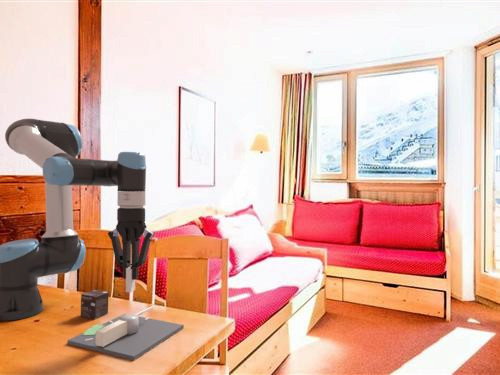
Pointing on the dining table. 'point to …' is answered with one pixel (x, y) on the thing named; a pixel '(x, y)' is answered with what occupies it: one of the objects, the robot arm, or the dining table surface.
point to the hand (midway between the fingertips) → (130, 290)
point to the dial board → (129, 338)
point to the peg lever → (119, 328)
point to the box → (94, 304)
